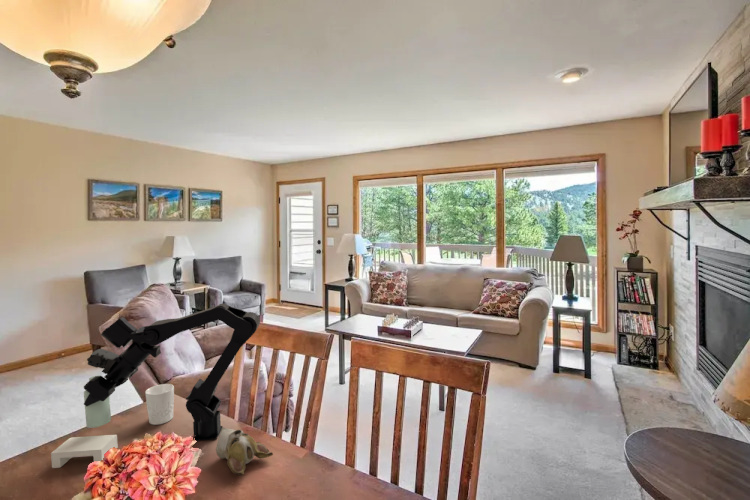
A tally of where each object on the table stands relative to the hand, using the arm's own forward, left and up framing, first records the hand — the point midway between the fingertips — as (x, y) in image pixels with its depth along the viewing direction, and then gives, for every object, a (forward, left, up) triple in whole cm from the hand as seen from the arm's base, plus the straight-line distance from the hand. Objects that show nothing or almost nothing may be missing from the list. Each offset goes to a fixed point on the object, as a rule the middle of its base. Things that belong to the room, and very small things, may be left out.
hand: (91, 400), depth 104 cm
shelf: (-1, +6, -13) cm, 14 cm away
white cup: (-12, -13, -13) cm, 22 cm away
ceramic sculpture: (-43, +12, -14) cm, 47 cm away
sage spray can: (-1, 0, -7) cm, 7 cm away
